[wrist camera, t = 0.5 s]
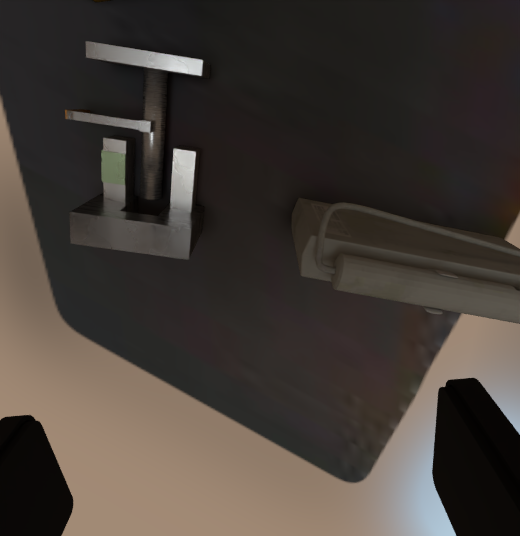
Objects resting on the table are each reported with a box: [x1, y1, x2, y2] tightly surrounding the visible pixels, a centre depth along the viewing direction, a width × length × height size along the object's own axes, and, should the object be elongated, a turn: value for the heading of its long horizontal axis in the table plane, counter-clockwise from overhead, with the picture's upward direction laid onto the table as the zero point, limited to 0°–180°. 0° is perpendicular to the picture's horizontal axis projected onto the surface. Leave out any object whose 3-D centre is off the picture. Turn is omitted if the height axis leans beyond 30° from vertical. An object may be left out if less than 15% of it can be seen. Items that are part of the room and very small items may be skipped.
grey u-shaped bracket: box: [70, 136, 204, 260], centre depth 32 cm, size 8×9×7 cm
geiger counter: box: [291, 198, 520, 324], centre depth 31 cm, size 14×6×25 cm
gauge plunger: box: [65, 41, 211, 200], centre depth 31 cm, size 11×10×4 cm
